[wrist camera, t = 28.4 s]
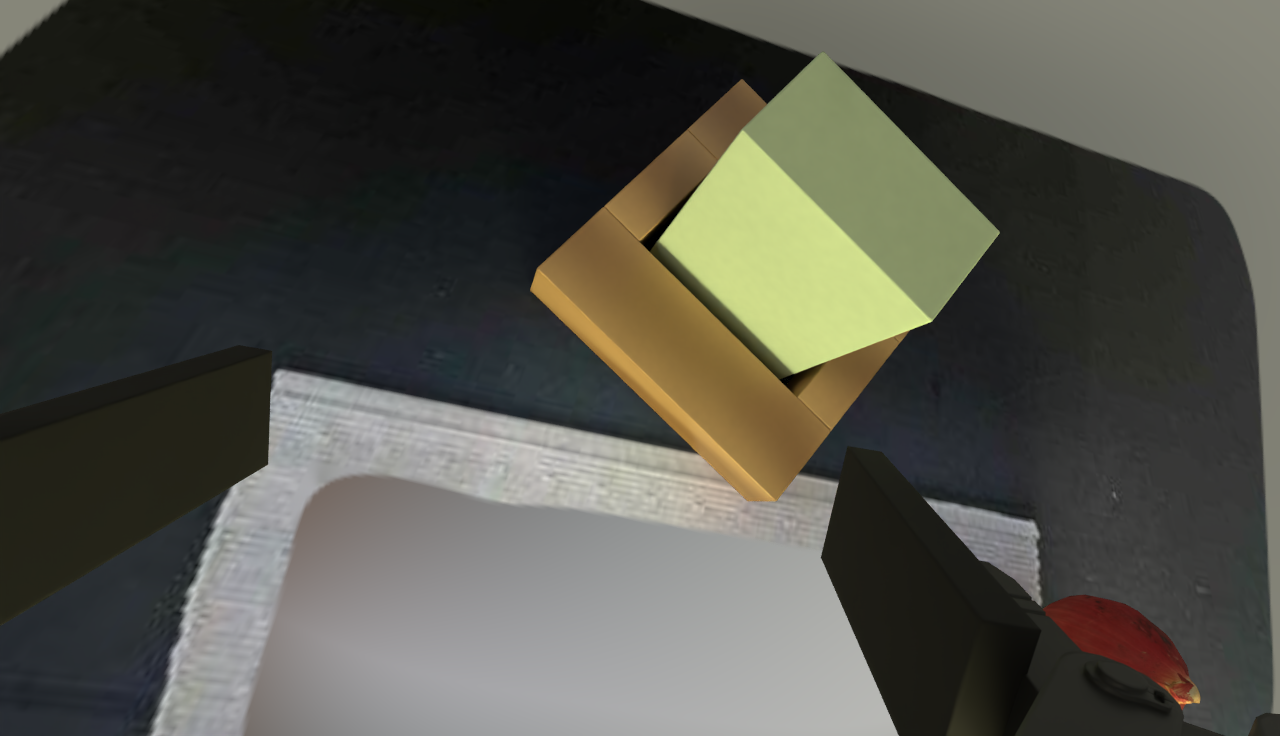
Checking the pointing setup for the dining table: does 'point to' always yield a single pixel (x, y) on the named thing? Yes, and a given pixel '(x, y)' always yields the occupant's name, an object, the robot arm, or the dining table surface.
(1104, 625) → the onion
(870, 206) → the pale green block
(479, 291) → the dining table surface
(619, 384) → the dining table surface
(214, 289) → the dining table surface
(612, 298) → the mount block
